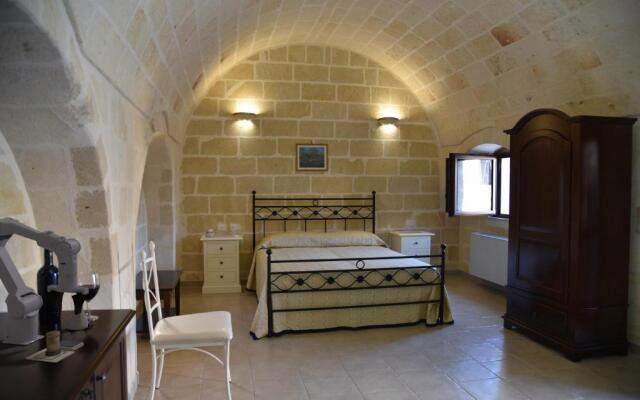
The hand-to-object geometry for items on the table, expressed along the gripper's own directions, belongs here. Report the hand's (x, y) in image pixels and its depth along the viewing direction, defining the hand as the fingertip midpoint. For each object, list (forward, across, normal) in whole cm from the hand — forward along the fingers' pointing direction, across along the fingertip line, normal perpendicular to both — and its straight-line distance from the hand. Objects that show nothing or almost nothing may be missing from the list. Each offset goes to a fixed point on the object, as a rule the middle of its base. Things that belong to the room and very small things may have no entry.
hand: (68, 313), depth 151 cm
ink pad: (+10, +3, -4) cm, 11 cm away
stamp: (+10, +3, -10) cm, 14 cm away
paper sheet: (+10, +3, -11) cm, 15 cm away
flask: (+11, -7, +14) cm, 19 cm away
